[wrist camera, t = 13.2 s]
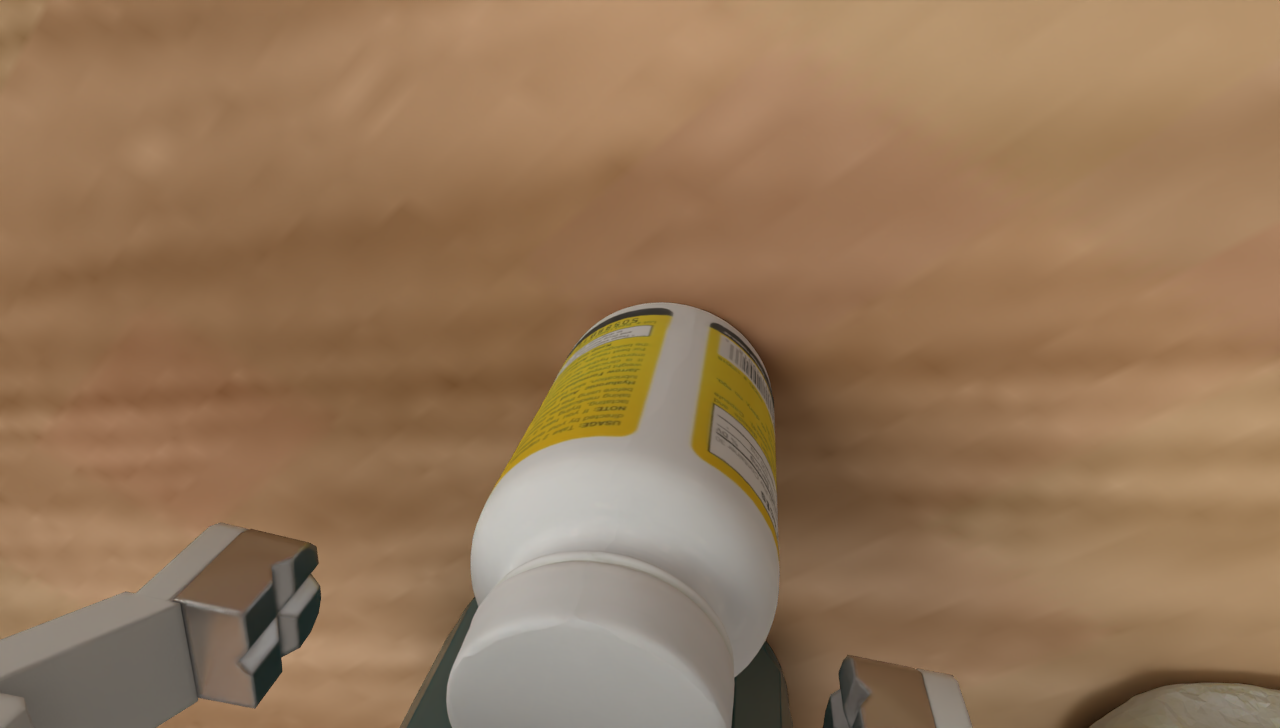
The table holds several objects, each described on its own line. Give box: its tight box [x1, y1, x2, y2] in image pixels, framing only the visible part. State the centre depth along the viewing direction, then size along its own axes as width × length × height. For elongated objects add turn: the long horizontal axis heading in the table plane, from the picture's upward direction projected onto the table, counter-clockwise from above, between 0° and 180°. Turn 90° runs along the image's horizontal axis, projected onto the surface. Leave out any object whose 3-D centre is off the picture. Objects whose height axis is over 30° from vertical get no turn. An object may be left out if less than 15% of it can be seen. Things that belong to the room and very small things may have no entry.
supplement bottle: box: [446, 302, 780, 728], centre depth 14 cm, size 5×5×10 cm
